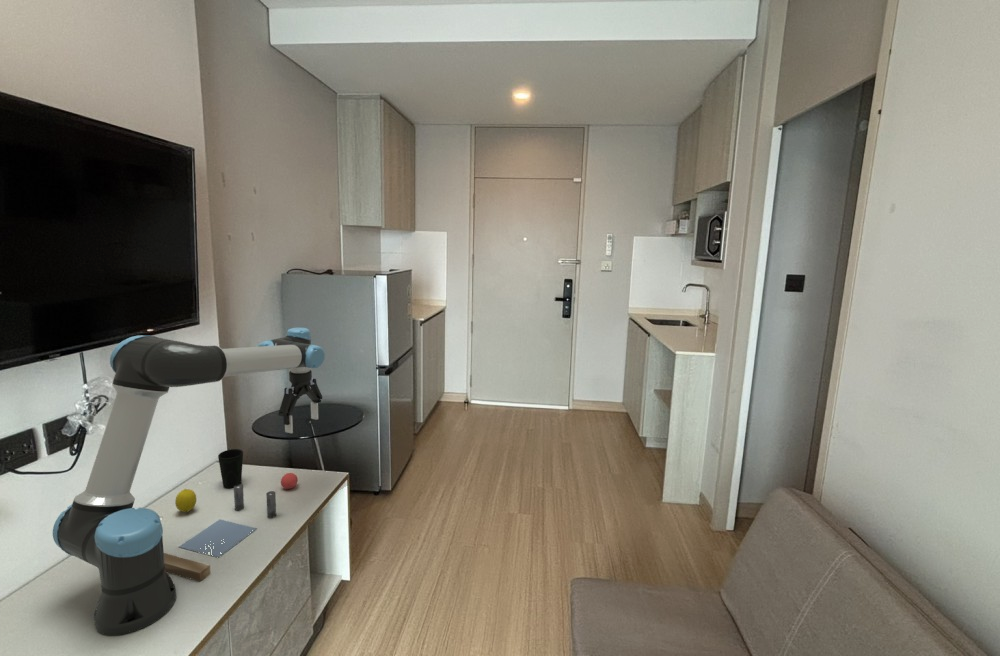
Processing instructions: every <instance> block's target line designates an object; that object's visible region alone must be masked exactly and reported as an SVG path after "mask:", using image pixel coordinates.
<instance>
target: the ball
mask: <svg viewBox="0 0 1000 656" xmlns="http://www.w3.org/2000/svg"><path fill="white" fill-rule="evenodd" d="M298 480H299V479H298V476H297V474H295V473H293V472H288V473H285V474H284V475H283V476H282V477H281V479H280V485H281V487H282V488H284V489H286V490H291V489H293V488H295V487H296V486H297V484H298Z"/></svg>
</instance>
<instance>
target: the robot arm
mask: <svg viewBox="0 0 1000 656" xmlns="http://www.w3.org/2000/svg"><path fill="white" fill-rule="evenodd" d="M286 335H287V336H283V337H279V338H274V339H267V340H266V341H262V342H260V343H259V344H258V345H257V346H249V347H248V346H247V347H246V346H244V347H231V348H221V347H220V346H218V345H199V344H193V343H189V342H183V341H180V340H173V339H168V338H163V337H157V336H156V335H141V334H140V335H135V336H130V337H128V338H126V339H123V340H122V341H121V342H119V343H118V344H117V345H116V346H115V347H114V348H113V350H112V352H111V354H110V358H109V364H110V367H111V368H112V371H113V372H114V373H115V374H114V377H113V380H112V383H111V386H112V387H113V388H114V390H115V391H116V396H115V398H114V402H113V404H112V408H111V411H110V414H109V417H108V420H107V423H106V426H105V428H104V429H105V430H104V432H103V435H102V439H101V441H100V444H99V447H98V451H97V453H96V456H95V458H94V459H95V460H94V462H93V466H92V469H91V472H90V475H89V478H88V481H87V483H86V487H85V489H84V491H82V492H80V493H79V494H78V495H75V497H74V498H73V500H72V504H70V505H69V506H67V508H66V509H65V510H63V511H62V512H61V513H60V514H59V515H58V517H57V518H56V520H55V521H54V525H53V528H52V539H53V541H54V544H55V545H56V546H57V547H58V548H60V550H61V551H63V552H65V553H66V554H67V555H69V556H71V557H72V556H73V557H75V558H78V559H79V560H82V561H84V562H86V563H87V564H90V565H92V566H94V567H96V568H97V569H98V571H99V578H100V587H101V591H100V595H99V599H98V602H97V606H96V607H95V611H94V614H93V620H94V628H95V630H96V631H97V632H98V633H100V634H102V635H104V636H105V635H106V636H120V635H125V634H130V633H133V632H137V631H138V630H142V629H143V628H145V627H148V626H150V625H152V624H153V623H156V621H158V620H159V619H161V618H162V617H163V616H165V615H166V614H167V613H168V612H169V611H170V609H171V608H173V606H174V604H175V602H176V599H177V589H176V584H175V583H174V581H173V580H172V578H171V577H170V575H169V573H168V572H166V570H165V563H164V553H165V551H164V539H163V532H164V529H163V524H162V521H161V518H160V515H159V514H158V513H157V512H156V511H154V510H152V509H150V508H147V507H146V508H145V507H138V508H135V507H133V506H134V504H135V500H136V497H135V496H134V495H133V494H132V493H131V488H132V485H133V482H134V479H135V476H136V473H137V469H138V466H139V463H140V460H141V456H142V454H143V450H144V448H145V444H146V440H147V438H148V434H149V430H150V428H151V425H152V421H153V418H154V415H155V412H156V409H157V405H158V402H159V399H160V398H161V397H162V396H164V395H167V394H168V393H169V390H170V388H181V387H190V386H196V385H204V384H210V383H217V382H220V381H222V380H223V379H224V378H226V377H233V376H234V377H235V376H242V375H250V374H258V373H264V372H271V371H272V372H274V371H282V370H289V372H288V376H289V377H288V379H289V382H290V383H291V385H290V387H285V388H284V391H283V392H284V393H283V398H282V401H281V404H280V408H279V409H278V416H280V417H283V424H284V433H289V434H293V433H294V431H293V430H294V426H293V415H292V412H293V411H294V408H295V406H296V404H297V402H298V400H299V399H300V398H301V397H302V396H305V395H306V396H307V397H308V399H310V400H311V401H312V402H310V420H311V419H312V420H316V421H317V420H319V408H320V407H319V404H320V403H321V402H322V399H323V395H322V393H321V390H320V387H319V386H318V383H317V378H313V376H312V372H313V371H312V369H318V368H320V367H321V366H322V365H323V364H324V361H325V358H326V357H325V355H326V353H325V350H324V348H322V346H319V345H316V344H312V339H311V338H312V337H311V331H310V329H308V328H306V327H292V328H289V329H288V330H287V334H286Z"/></svg>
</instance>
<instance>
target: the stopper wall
mask: <svg viewBox="0 0 1000 656" xmlns="http://www.w3.org/2000/svg"><path fill="white" fill-rule="evenodd" d="M164 563H165V570H166V572H167V573H168V572H169V573H168V574H172V573H173V574H172V575H176V576H179V575H180V577H183V576H184V578H186V577H187V578H186V579H190V578H191V579H190V580H193V579H194V581H197V582H200V581H201V582H202V581H203V580H204V579H206V578H207V577H208V576H209V575H211V565H210V564H206V563H202V562H198V561H195V560H192V559H187V558H185V557H181V556H180V557H179V556H176V555H173V554H170V553H165V552H164Z"/></svg>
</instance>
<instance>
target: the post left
mask: <svg viewBox="0 0 1000 656" xmlns="http://www.w3.org/2000/svg"><path fill="white" fill-rule="evenodd" d="M233 497H234V501H233V502H234V510H235V512H236V511H242V510H244V508H245V502H244V501H245V499H244V498H245V497H244V484H243V483H241V484H237V485H235V486H234V488H233Z"/></svg>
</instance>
